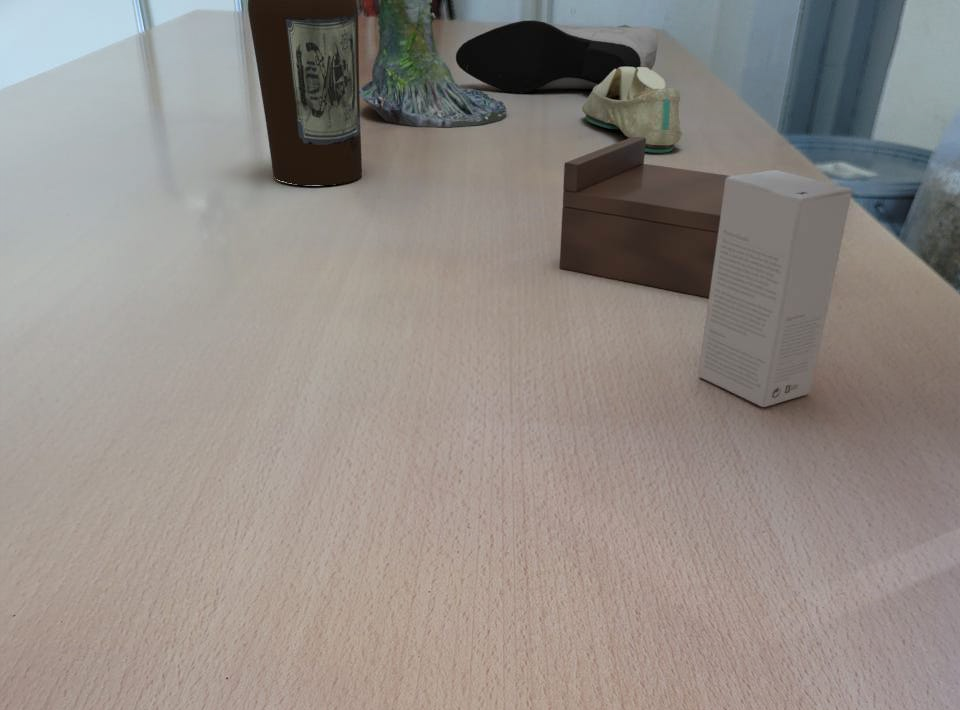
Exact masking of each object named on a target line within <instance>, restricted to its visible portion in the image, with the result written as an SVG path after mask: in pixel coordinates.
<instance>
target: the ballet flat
mask: <svg viewBox="0 0 960 710" xmlns="http://www.w3.org/2000/svg"><path fill="white" fill-rule="evenodd" d="M666 86H667V85H666V81H665V79H664V78H663V77H662V76H661V75H660V74H659V73H657V72H656V71H653V70H652V69H651V70H650V69H649V68H646V67H637V68H635V67H619V68H618V69H614V70H613V71H612V72H611V73H610V74H609V75H608V76H607V77H606V78H605V79H604V80H603V81H602V82H601V83H600V84H598V85H596V86H595V87H594V88H593V89H591V90H592V91H591V92H590V94H589V95H588V97H587V98H586V100H585V101H584V103H583V104H582V106H581V110H582V113H584V114H585V120H586V121H587V122H589V123H591V124H593V125H596V126H598V127H601V128H605V129H609V130H620V131H621V132H622V133H623V135H624V136H626V137H627V139H629V138H631V137H634V136H635V137H642V138H646V145H645V153H651V154H666V153H670V152H671V151H673V150H674V145H675V144H677V143H679V142H680V141H681V138H682V136H683V132H682V130H681V129H682V128H681V120H680V116H679V115H680V113H679V112H680V101H681V93H680V91H679V90H678V89H677V88H675V87H666ZM646 88H648V89H646Z"/></svg>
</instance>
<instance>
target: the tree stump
mask: <svg viewBox="0 0 960 710" xmlns="http://www.w3.org/2000/svg"><path fill="white" fill-rule="evenodd" d="M432 4H433V0H378V8H379V14H378V15H377V19H378V21H377V25H378V27H379V28H378V36H379V41H378V51H377V54H376V57H375V59H374V63H373V66H372V71H371V76H372V77H371V78H372V80H370V81H368V82H367V83H365V84H364V85H363V86H362V87H361V89H359V96H360V98H361V99H362V100H363V101H364V102H365V103H367V104H368V105H369V106H370V107H371V108H372V109H373V110H374V111H375V112H376V113H377V114H378V115H379V116H380V117H381V118H382V119H383V120H384V122H387V123H391V124H395V125H403V126H411V127H419V128H421V127H423V128H424V127H426V128H427V127H431V128H432V127H433V128H456V127H457V128H459V127H470V126H483V125H486V124H490V123H494V122H498V121H501V120H503V119H504V118H505V117H506V116H507V107H506V105H505V103H504V102H503V101H502V100H496V99H495V98H493V97H491V96H490V95H489V94H488V93H484V92H483V91H482V90H480V89H479V90H476V89H474V88H465V89H462V88H460V87H459V85H458V83H456V82H455V80H454V78H453V75H452V72H451V70H450V68H449V66H448V65H447V63H446V62H445V61H444V59H442V58H441V56H440V55H439V53H438V49H437V45H436V39H435V36H434V30H433V22H434V20H435V19H436V15H435V13H434V12H431V9H432Z"/></svg>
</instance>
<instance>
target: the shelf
mask: <svg viewBox="0 0 960 710" xmlns="http://www.w3.org/2000/svg"><path fill="white" fill-rule="evenodd" d="M645 145H646V138H642V137H635V136H634V137H631V138H629V139H628V138H626V139H623V140H621V141H618V142H615V143H613V144H610V145H608V146H605V147H603V148H600V149H596V150H595V151H591V152H589V153H587V154H584V155H582V156H579V157H577V158H574V159H571V160H568V161H566V162H564V166H563V167H564V169H563V184H562V185H563V187H562V188H563V189H562V190H563V191H562V210H561V211H562V212H561V229H560V249H559V269H562V270H568V271H573V272H578V273H583V274H587V275H588V274H589V275H593V276H598V277H601V278H608V279H613V280H618V281H622V282H627V283H633V284H638V285H642V286H648V287H653V288H658V289H662V290H667V291H668V290H669V291H674V292H677V293H683V294H688V295H693V296H698V297H702V298H703V297H704V298H708V299H709V295H710V288H711V280H712V273H713V266H714V259H715V252H716V245H717V238H718V231H719V224H720V216H721V209H722V201H723V194H724V186H725V180H726V178H727V177H729V176H730V175H727V174H721V173H720V174H719V173H712V172H705V171H699V170H691V169H685V168H684V169H683V168H677V167H669V166H663V165H662V166H661V165H657V164H656V165H655V164H649V163H645V156H646V155H645V154H646V152H645Z"/></svg>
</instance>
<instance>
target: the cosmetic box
mask: <svg viewBox="0 0 960 710" xmlns="http://www.w3.org/2000/svg"><path fill="white" fill-rule="evenodd" d="M728 176H729V177H727V178H726V180H725V186H724V194H723V201H722V209H721V216H720V224H719V231H718V238H717V245H716V252H715V259H714V266H713V273H712V280H711V288H710V295H709V298H708V303H707V309H706V315H705V324H704V331H703V339H702V345H701V353H700V358H699V359H700V360H699V367H698V373H697V374H698V377H699V378H701V379H702V380H705V381H707V382H709V383H711V384H713V385H715V386H718V387H720V388H722V389H724V390H726V391H728V392H730V393H732V394H734V395H736V396H739V397H741V398H743V399H744V400H747V401H749V402H750V403H753V404H755V405H757V406H759V407H761V408H766V407H771V406H773V405H777V404H779V403H784V402H786V401H790V400H793V399H797V398H800V397H805V396H807V395H809V394H810V393H811V391H812V386H813V381H814V375H815V371H816V367H817V362H818V357H819V353H820V348H821V343H822V339H823V338H822V337H823V334H824V329H825V324H826V318H827V315H828V314H827V313H828V310H829V305H830V300H831V295H832V291H833V285H834V281H835V275H836V271H837V265H838V261H839V257H840V252H841V248H842V243H843V236H844V232H845V228H846V227H845V226H846V223H847V218H848V213H849V210H850V209H849V208H850V204H851V199H852V195H853V194H852V193H853V190H852V188H850V187H846V186H842V185H837V184H833V183H828V182H825V181H820V180H817V179H813V178H811V177H806V176H802V175H798V174H795V173H791V172H787V171H783V170H779V169H771V170H765V171H757V172H752V173H744V174H736V175H728Z"/></svg>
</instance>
